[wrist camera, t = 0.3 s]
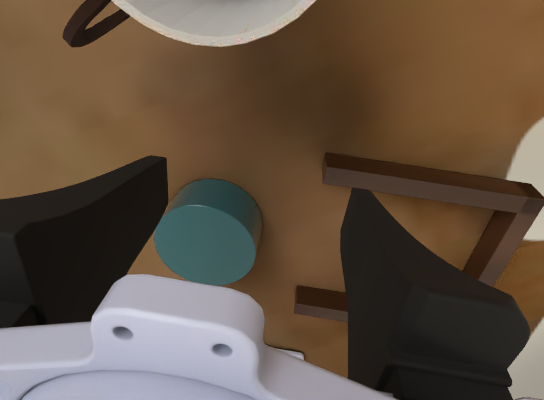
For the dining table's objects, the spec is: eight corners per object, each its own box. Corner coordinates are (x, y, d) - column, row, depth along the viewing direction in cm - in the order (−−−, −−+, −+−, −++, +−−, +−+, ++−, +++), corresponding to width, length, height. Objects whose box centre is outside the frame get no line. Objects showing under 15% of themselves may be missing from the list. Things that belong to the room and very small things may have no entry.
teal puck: (258, 260, 29) (251, 293, 26) (173, 246, 29) (156, 277, 26) (267, 186, 25) (260, 214, 22) (169, 171, 26) (150, 197, 23)
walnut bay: (451, 320, 30) (458, 340, 29) (295, 295, 31) (294, 313, 29) (531, 183, 23) (547, 200, 21) (325, 152, 23) (326, 166, 22)
